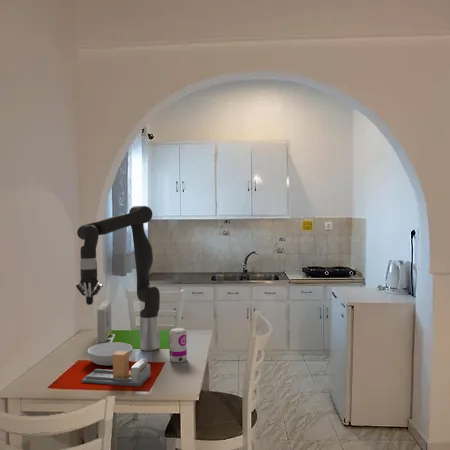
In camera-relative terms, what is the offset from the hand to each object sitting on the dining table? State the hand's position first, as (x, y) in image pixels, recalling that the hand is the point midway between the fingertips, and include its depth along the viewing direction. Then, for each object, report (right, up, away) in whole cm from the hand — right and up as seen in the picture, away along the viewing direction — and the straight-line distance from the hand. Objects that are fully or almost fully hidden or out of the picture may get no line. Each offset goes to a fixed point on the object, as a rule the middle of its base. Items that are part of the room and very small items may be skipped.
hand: (89, 304), depth 211 cm
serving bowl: (+9, -29, +4) cm, 30 cm away
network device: (-4, -28, +43) cm, 51 cm away
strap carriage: (+22, -28, -19) cm, 40 cm away
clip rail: (+17, -29, -18) cm, 38 cm away
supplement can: (+41, -28, +6) cm, 50 cm away
